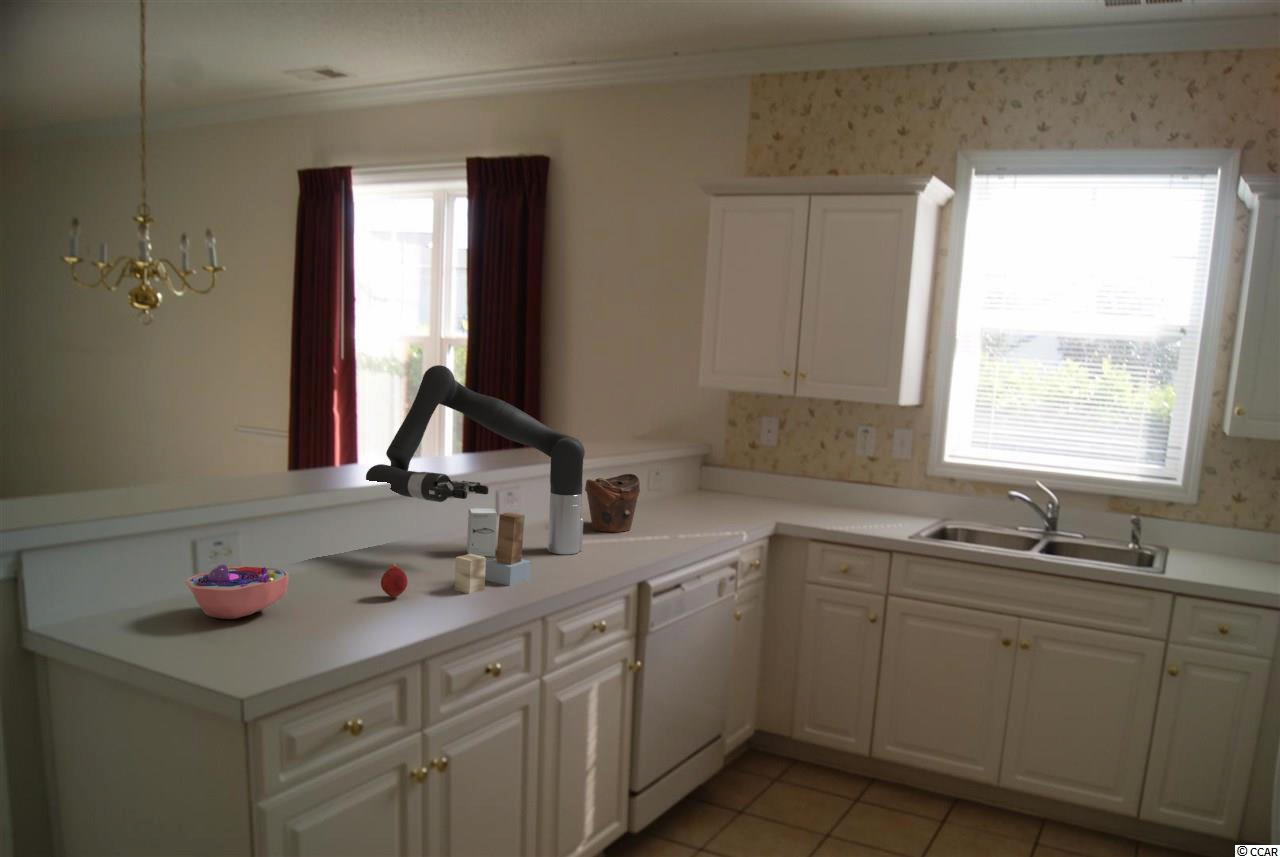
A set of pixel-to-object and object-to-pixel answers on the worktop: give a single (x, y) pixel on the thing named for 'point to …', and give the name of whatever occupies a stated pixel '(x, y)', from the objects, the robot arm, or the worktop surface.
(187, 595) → the worktop surface
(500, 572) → the base block
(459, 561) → the birch block
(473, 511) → the supplement box
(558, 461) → the robot arm
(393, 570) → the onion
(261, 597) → the cell model
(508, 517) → the walnut block
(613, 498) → the brown wooden tapered pot
